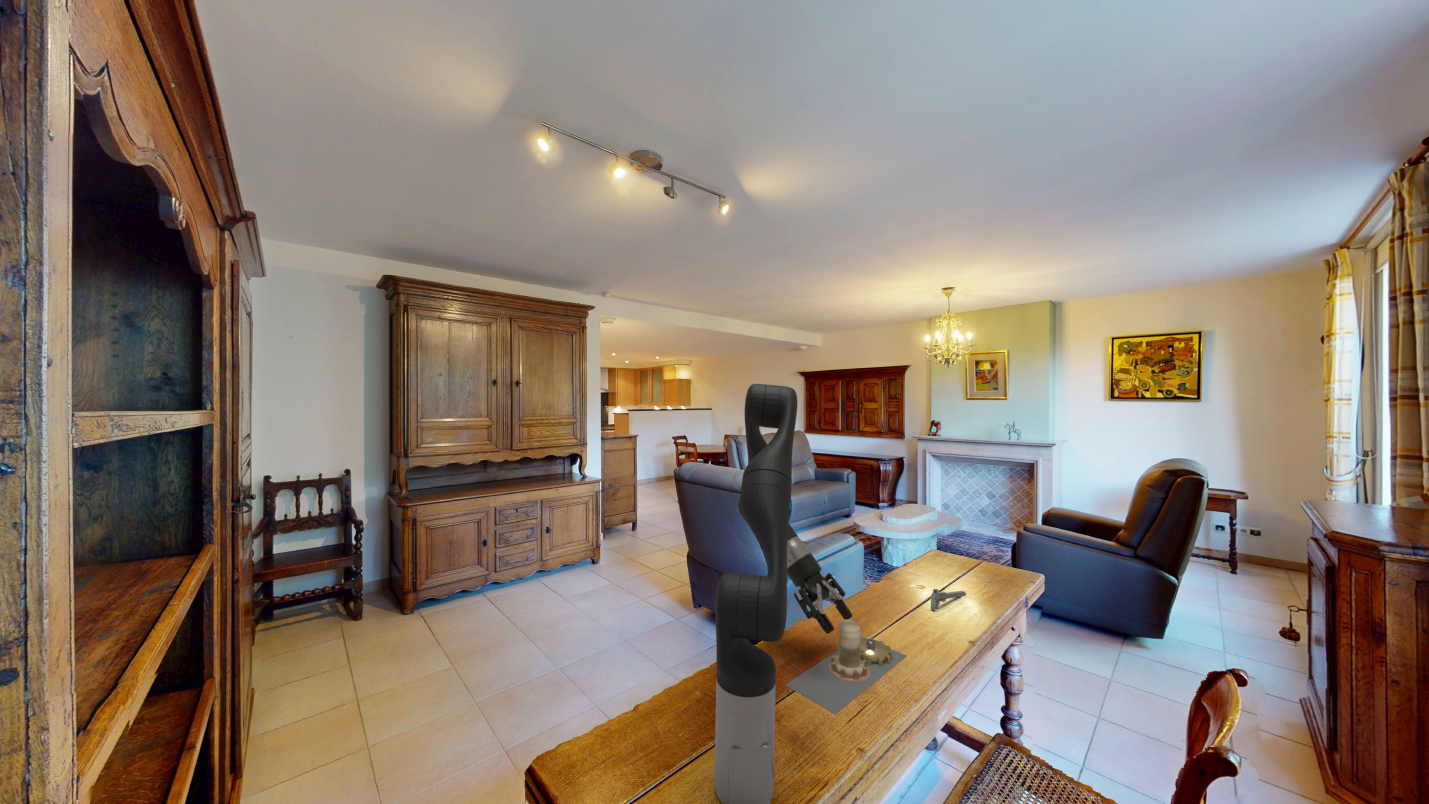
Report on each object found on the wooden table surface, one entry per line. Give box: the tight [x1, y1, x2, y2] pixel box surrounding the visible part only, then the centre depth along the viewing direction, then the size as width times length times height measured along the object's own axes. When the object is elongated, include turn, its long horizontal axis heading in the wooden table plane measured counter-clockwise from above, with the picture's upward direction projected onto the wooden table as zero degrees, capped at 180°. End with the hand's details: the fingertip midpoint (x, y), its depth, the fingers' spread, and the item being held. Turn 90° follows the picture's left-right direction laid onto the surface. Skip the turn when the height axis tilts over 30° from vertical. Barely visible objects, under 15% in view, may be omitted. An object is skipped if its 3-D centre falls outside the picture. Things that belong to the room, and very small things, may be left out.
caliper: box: [930, 588, 967, 612], centre depth 142 cm, size 20×1×6 cm, turn 128°
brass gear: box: [860, 636, 892, 666], centre depth 110 cm, size 9×9×3 cm
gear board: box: [785, 635, 908, 715], centre depth 104 cm, size 30×12×2 cm, turn 133°
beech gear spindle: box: [831, 619, 867, 680], centre depth 103 cm, size 8×8×10 cm
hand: (840, 625), depth 105 cm, fingers open, 8 cm apart
